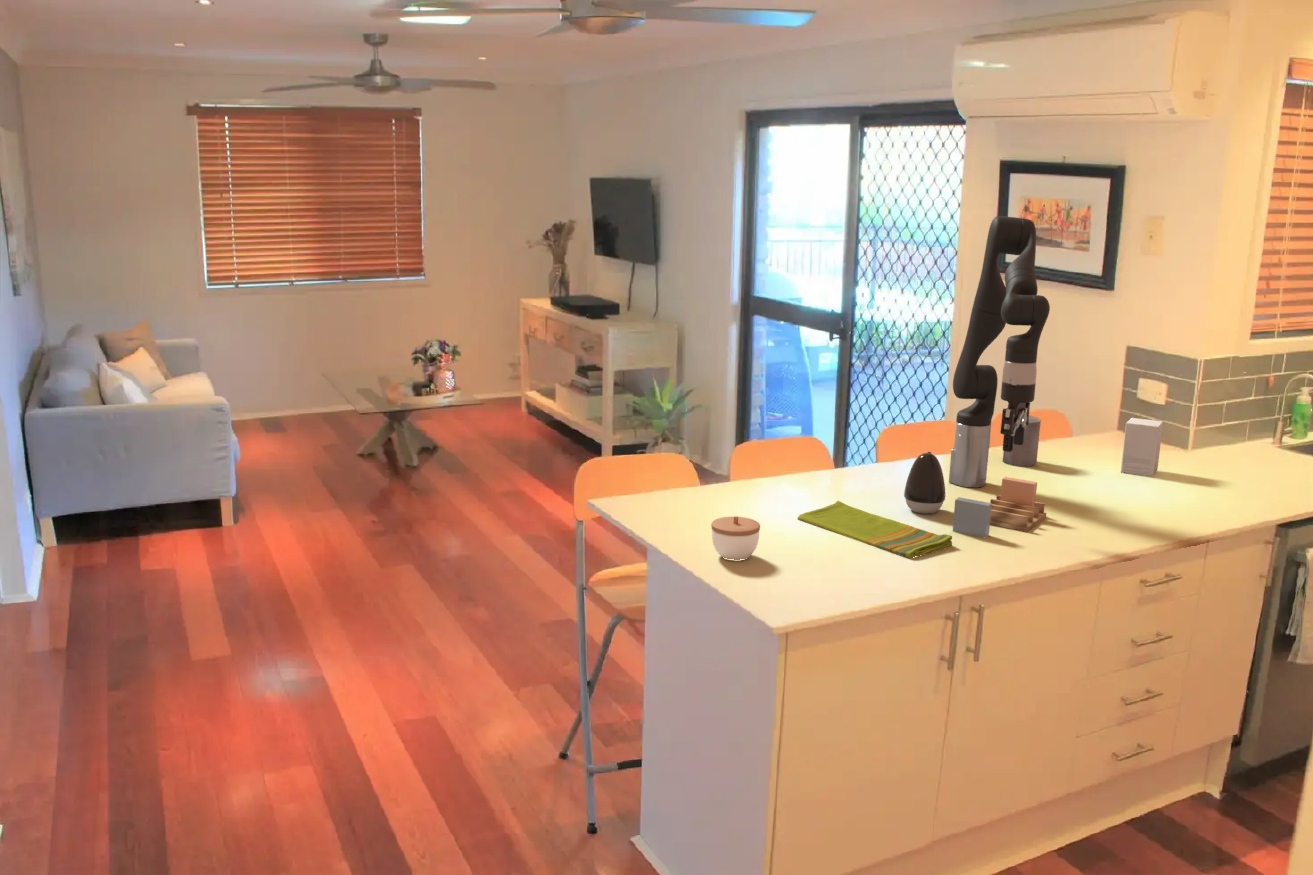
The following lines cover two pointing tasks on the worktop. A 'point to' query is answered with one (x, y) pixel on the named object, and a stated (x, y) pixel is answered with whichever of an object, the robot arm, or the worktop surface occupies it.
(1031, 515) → the dish rack
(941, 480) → the black egg-shaped piece
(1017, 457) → the pillar candle
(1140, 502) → the worktop surface
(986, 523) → the slate grey rectangular block
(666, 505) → the worktop surface
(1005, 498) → the terracotta plate
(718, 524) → the lidded jar
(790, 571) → the worktop surface
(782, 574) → the worktop surface
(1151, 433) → the supplement box
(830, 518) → the dish towel
